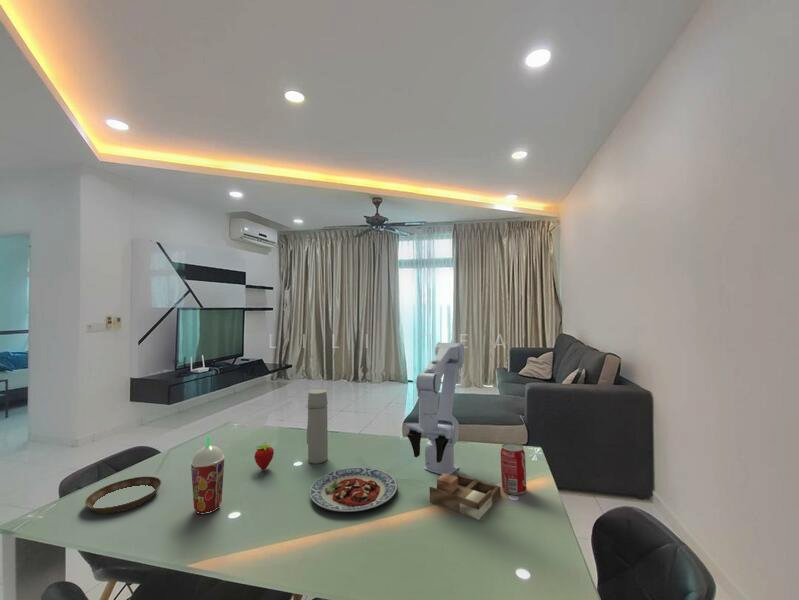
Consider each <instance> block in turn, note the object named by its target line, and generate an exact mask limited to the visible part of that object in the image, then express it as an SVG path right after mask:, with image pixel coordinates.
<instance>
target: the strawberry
mask: <svg viewBox="0 0 799 600" xmlns="http://www.w3.org/2000/svg"><path fill="white" fill-rule="evenodd" d="M274 451H275V450H274V448H273V447H271V444H267V443H266V444H263V445H260V446H257V449H256V451H255V452H254V461H255V463H256V465H257V466H258V468H259V469H261V471H263V470H264V471H265V470H267V468H268V466H269V465H270V463H271V462H272V460H273V458H274V454H275V452H274Z"/></svg>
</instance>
